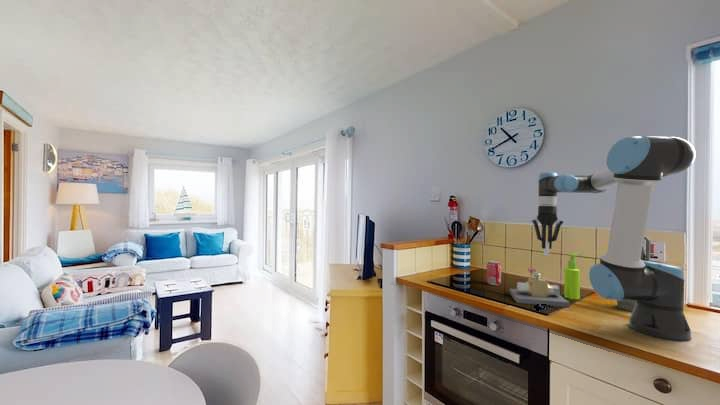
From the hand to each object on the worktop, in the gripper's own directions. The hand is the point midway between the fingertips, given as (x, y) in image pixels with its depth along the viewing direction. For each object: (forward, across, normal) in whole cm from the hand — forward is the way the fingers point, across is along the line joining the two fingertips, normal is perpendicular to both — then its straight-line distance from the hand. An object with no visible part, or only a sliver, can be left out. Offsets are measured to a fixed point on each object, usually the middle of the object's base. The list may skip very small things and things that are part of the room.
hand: (546, 255), depth 147 cm
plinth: (+19, +6, +10) cm, 22 cm away
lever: (+8, +6, +4) cm, 11 cm away
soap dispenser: (+19, -11, 0) cm, 22 cm away
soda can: (+19, +21, -14) cm, 31 cm away
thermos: (+19, -28, +12) cm, 36 cm away
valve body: (+17, +6, +9) cm, 21 cm away
